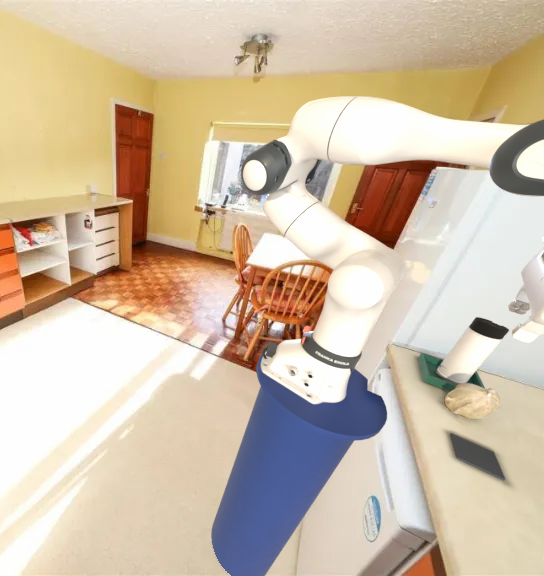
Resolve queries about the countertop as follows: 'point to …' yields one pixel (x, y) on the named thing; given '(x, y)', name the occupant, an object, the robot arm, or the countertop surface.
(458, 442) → the mat
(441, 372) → the travel mug
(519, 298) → the robot arm
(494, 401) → the garlic bulb
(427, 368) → the tray
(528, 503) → the countertop surface
